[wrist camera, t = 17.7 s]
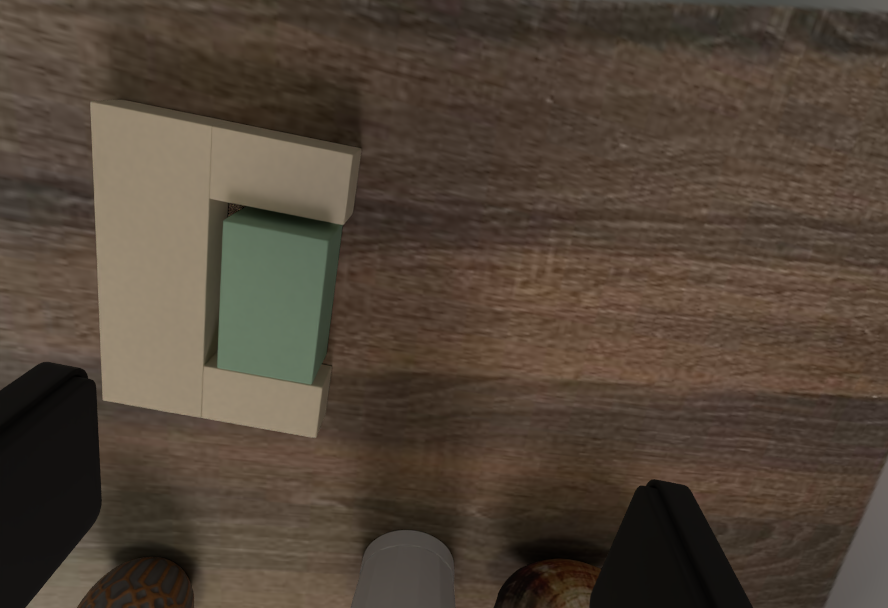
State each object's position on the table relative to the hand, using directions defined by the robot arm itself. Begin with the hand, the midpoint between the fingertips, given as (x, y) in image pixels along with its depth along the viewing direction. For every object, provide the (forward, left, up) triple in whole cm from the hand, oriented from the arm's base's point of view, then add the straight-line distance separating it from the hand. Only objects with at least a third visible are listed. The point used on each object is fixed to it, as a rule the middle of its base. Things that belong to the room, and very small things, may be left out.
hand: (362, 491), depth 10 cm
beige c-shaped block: (+5, -10, -21) cm, 24 cm away
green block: (+5, -7, -21) cm, 23 cm away
